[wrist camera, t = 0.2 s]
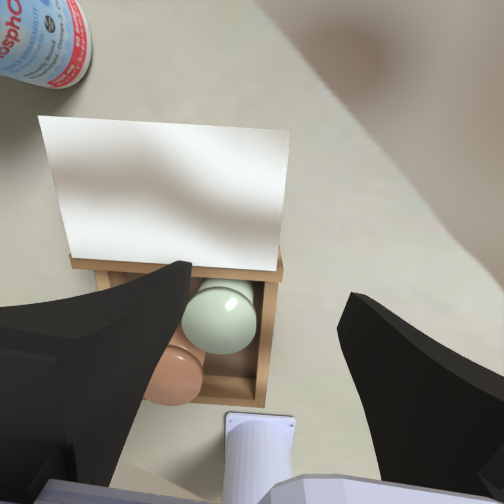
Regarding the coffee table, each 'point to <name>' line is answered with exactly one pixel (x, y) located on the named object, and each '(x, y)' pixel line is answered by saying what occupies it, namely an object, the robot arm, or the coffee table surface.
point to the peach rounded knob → (177, 372)
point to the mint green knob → (221, 316)
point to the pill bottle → (44, 42)
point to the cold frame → (178, 218)
